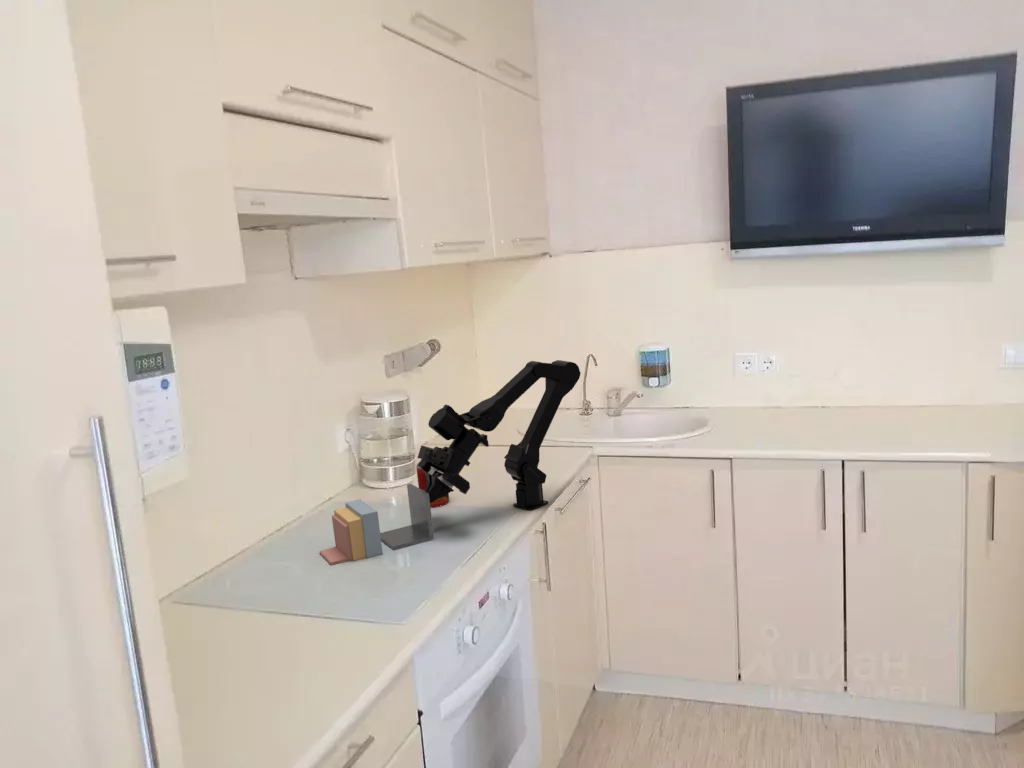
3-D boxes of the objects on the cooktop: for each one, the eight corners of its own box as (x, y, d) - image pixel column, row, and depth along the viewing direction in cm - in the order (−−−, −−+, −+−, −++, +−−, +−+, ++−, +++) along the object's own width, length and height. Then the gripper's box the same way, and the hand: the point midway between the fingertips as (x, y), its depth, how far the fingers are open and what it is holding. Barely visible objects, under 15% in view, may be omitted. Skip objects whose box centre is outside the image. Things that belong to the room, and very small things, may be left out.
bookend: (415, 527, 201) (410, 483, 199) (433, 539, 191) (428, 493, 190) (376, 537, 196) (371, 492, 194) (393, 550, 187) (387, 503, 185)
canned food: (430, 509, 213) (425, 468, 212) (415, 503, 220) (410, 463, 218) (455, 502, 218) (451, 461, 216) (439, 496, 224) (435, 457, 222)
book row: (365, 539, 195) (360, 499, 194) (382, 553, 185) (377, 511, 183) (317, 551, 190) (312, 510, 188) (333, 567, 180) (327, 523, 178)
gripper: (420, 426, 203) (383, 478, 200) (452, 438, 187) (412, 496, 183) (453, 451, 208) (416, 503, 205) (486, 465, 192) (448, 521, 188)
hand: (422, 505), depth 195 cm, fingers closed, pressing on bookend
